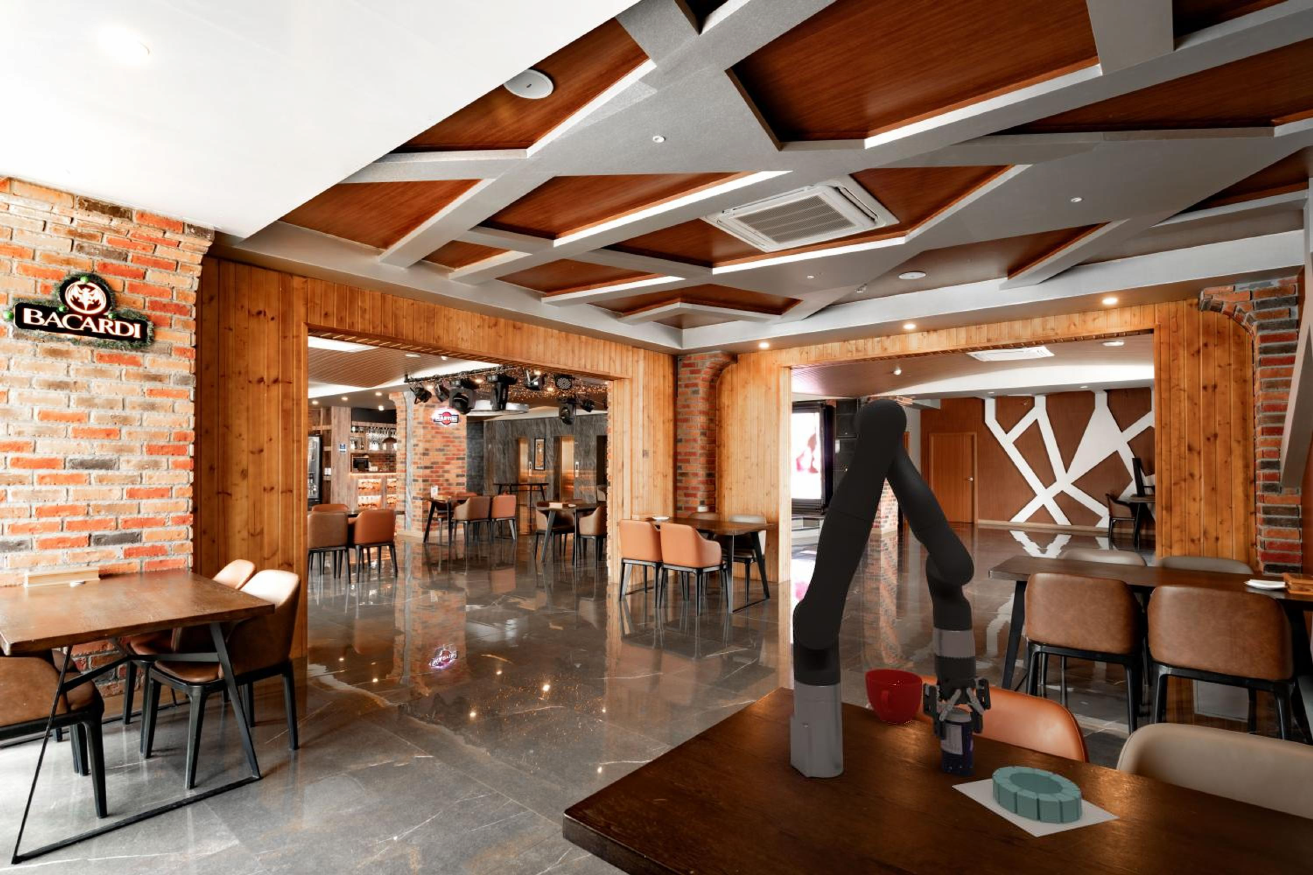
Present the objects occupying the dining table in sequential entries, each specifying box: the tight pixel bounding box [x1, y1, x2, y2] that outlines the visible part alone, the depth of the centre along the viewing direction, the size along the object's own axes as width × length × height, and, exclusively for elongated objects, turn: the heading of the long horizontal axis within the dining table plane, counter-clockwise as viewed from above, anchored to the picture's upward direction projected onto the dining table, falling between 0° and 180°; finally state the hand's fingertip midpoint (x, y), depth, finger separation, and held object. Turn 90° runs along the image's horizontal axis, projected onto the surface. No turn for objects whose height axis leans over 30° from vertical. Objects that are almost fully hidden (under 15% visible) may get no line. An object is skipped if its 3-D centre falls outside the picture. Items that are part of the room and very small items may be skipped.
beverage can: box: [940, 706, 975, 778], centre depth 126 cm, size 6×6×12 cm
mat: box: [951, 777, 1120, 838], centre depth 113 cm, size 18×18×1 cm
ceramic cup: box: [864, 668, 924, 725], centre depth 153 cm, size 13×17×10 cm
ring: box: [992, 765, 1082, 824], centre depth 112 cm, size 13×13×4 cm
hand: (958, 735), depth 126 cm, fingers open, 8 cm apart
